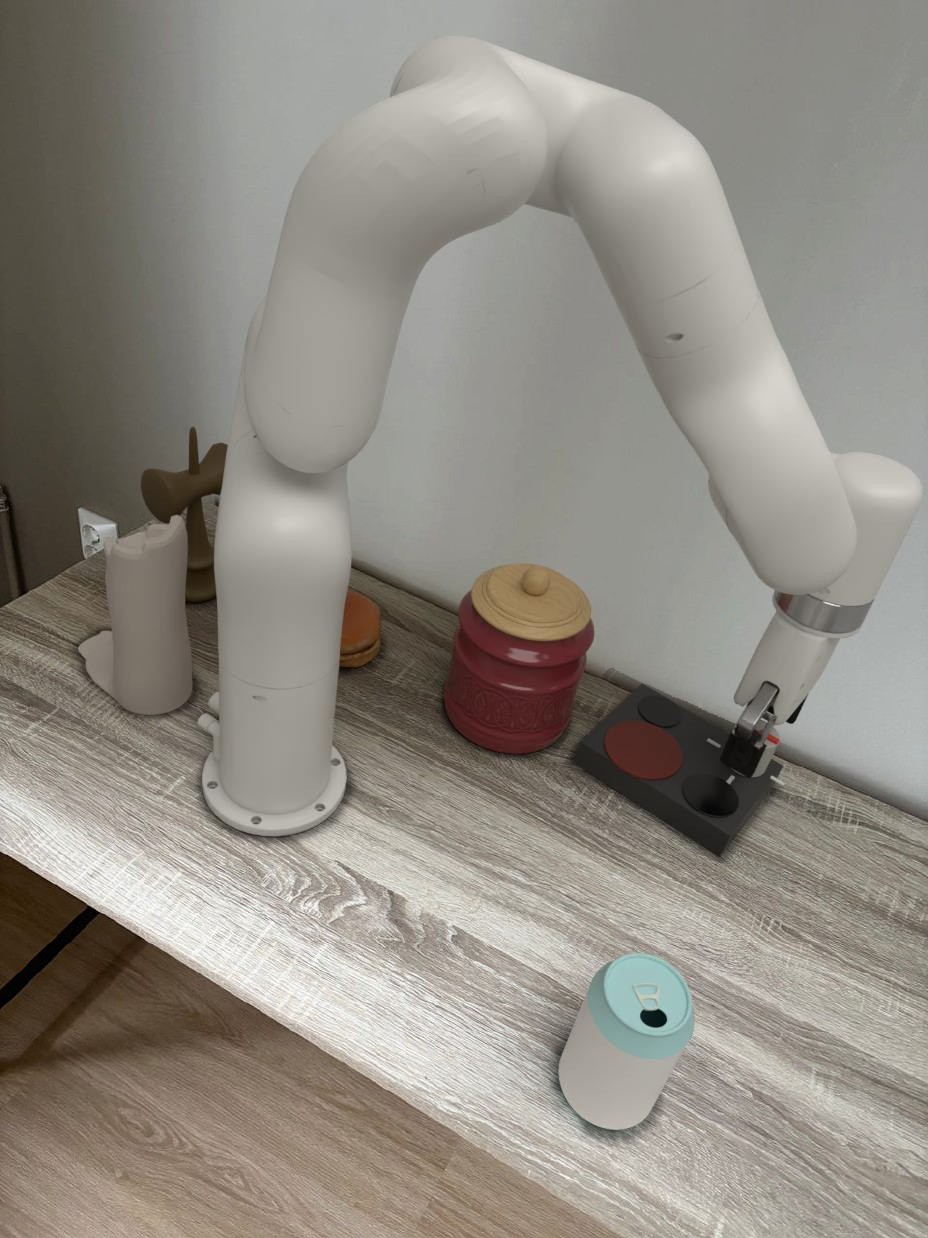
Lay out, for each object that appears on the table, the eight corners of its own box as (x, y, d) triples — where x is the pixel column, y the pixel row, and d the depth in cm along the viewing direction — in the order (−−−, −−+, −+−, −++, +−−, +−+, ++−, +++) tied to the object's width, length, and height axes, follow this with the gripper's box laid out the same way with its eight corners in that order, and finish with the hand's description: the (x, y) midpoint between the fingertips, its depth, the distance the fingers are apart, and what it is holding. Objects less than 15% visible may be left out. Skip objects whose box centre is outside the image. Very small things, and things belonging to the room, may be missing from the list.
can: (672, 1089, 70) (723, 998, 63) (612, 1156, 66) (659, 1067, 59) (598, 1018, 74) (638, 924, 67) (536, 1078, 70) (572, 984, 62)
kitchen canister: (594, 731, 99) (638, 592, 88) (490, 774, 92) (525, 629, 81) (518, 654, 106) (550, 518, 96) (417, 689, 100) (440, 546, 89)
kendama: (250, 587, 109) (252, 426, 97) (177, 622, 103) (170, 453, 90) (215, 563, 112) (213, 402, 99) (142, 594, 105) (131, 427, 93)
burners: (588, 749, 92) (589, 747, 92) (650, 690, 100) (650, 688, 100) (719, 832, 86) (720, 830, 86) (773, 762, 95) (774, 760, 94)
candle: (120, 622, 101) (105, 451, 89) (208, 691, 95) (204, 518, 83) (57, 652, 96) (32, 476, 84) (145, 726, 90) (131, 548, 78)
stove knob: (717, 761, 93) (731, 729, 91) (735, 740, 96) (749, 709, 93) (755, 784, 92) (770, 752, 89) (772, 762, 94) (787, 730, 92)
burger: (390, 666, 102) (395, 631, 99) (301, 676, 99) (303, 641, 96) (367, 608, 109) (370, 574, 106) (283, 616, 106) (284, 581, 103)
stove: (573, 762, 95) (580, 739, 93) (642, 697, 104) (649, 674, 102) (730, 864, 88) (742, 841, 86) (789, 784, 97) (801, 762, 95)
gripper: (818, 539, 89) (759, 679, 100) (737, 619, 78) (680, 768, 88) (898, 576, 86) (828, 716, 96) (826, 665, 74) (756, 814, 85)
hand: (758, 741), depth 92 cm, fingers open, 9 cm apart
